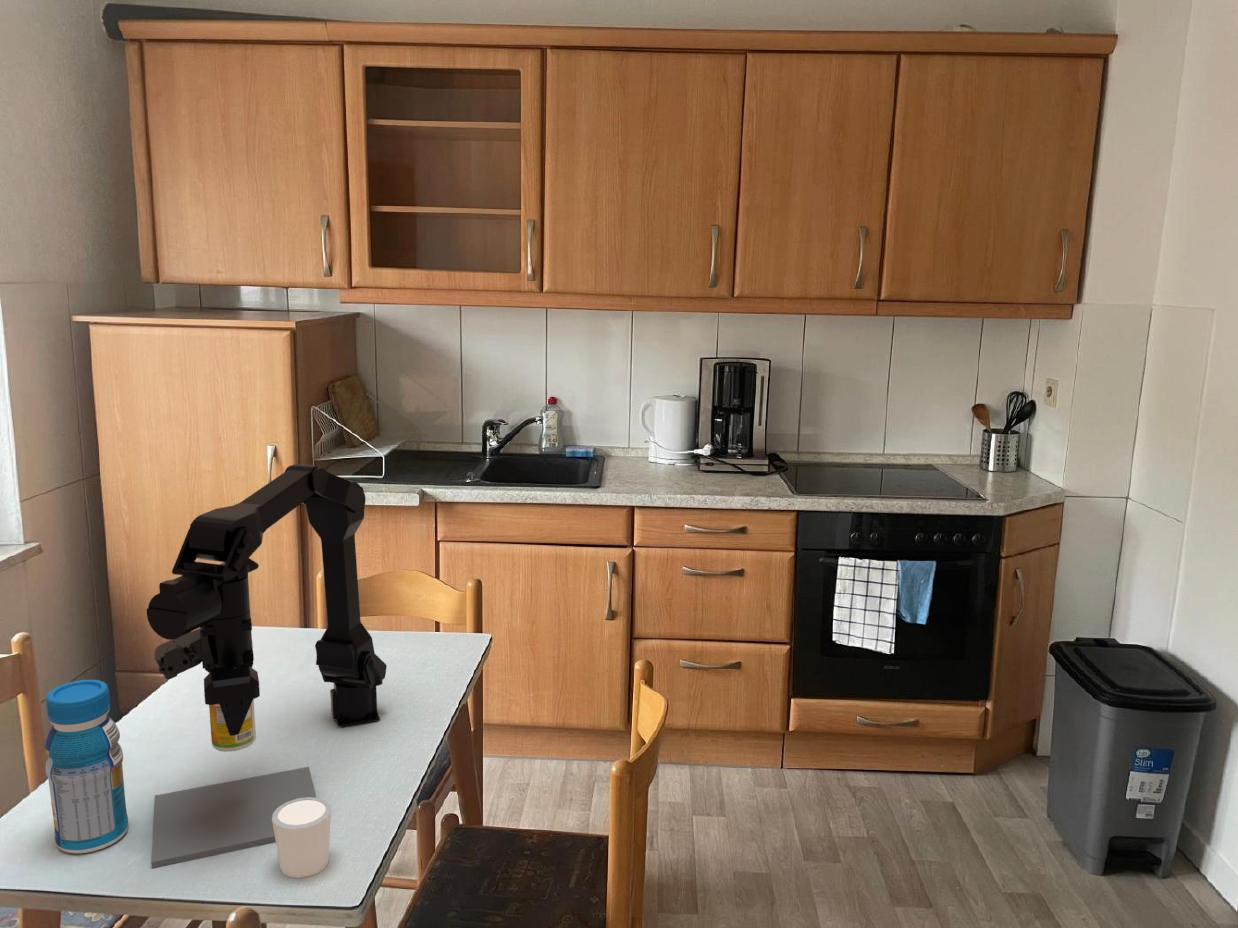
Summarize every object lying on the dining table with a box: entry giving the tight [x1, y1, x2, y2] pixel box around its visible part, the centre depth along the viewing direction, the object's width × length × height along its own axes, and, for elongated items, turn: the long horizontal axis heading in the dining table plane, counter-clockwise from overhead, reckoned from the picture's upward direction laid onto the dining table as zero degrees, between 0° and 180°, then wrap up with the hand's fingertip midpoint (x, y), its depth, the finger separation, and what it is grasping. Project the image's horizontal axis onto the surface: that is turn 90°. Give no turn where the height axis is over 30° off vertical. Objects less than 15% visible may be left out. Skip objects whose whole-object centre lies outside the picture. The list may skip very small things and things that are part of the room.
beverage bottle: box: [44, 679, 129, 854], centre depth 119 cm, size 8×8×20 cm
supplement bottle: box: [208, 699, 257, 753], centre depth 125 cm, size 5×5×10 cm
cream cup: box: [272, 797, 332, 879], centre depth 116 cm, size 7×7×7 cm
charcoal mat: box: [150, 766, 318, 869], centre depth 126 cm, size 20×16×1 cm
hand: (233, 724), depth 125 cm, fingers closed on supplement bottle, 5 cm apart
